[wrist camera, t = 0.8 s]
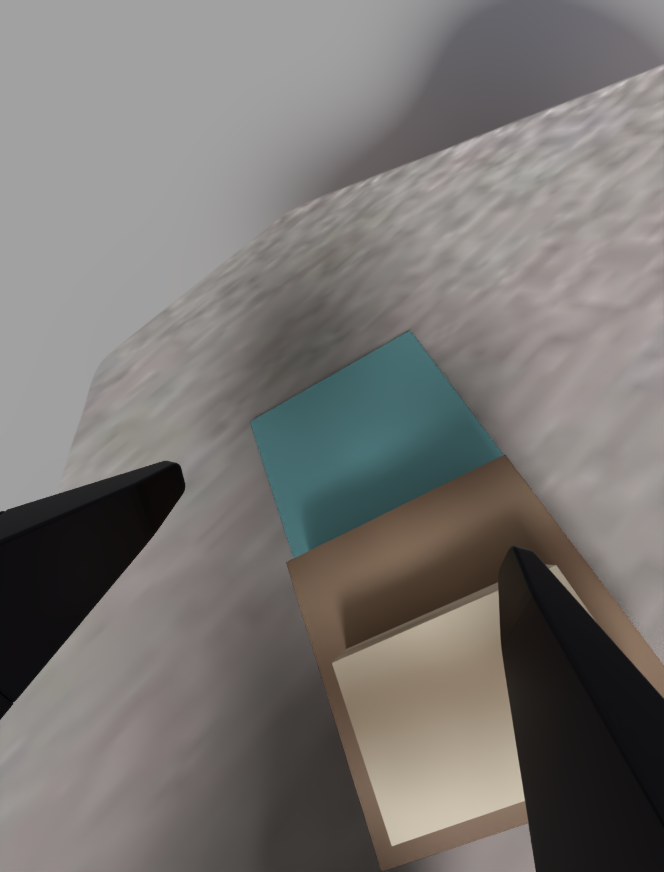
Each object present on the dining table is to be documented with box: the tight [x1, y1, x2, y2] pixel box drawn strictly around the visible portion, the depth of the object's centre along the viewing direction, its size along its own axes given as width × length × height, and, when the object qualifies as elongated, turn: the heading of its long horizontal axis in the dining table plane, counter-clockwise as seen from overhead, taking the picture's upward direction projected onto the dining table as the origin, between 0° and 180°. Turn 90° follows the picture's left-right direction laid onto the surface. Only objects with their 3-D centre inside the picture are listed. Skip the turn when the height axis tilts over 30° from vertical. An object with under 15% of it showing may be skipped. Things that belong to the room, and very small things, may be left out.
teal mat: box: [250, 331, 503, 558], centre depth 21 cm, size 11×14×1 cm
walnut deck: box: [286, 455, 664, 872], centre depth 14 cm, size 11×12×4 cm
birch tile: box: [332, 564, 595, 846], centre depth 11 cm, size 5×9×2 cm, turn 113°
